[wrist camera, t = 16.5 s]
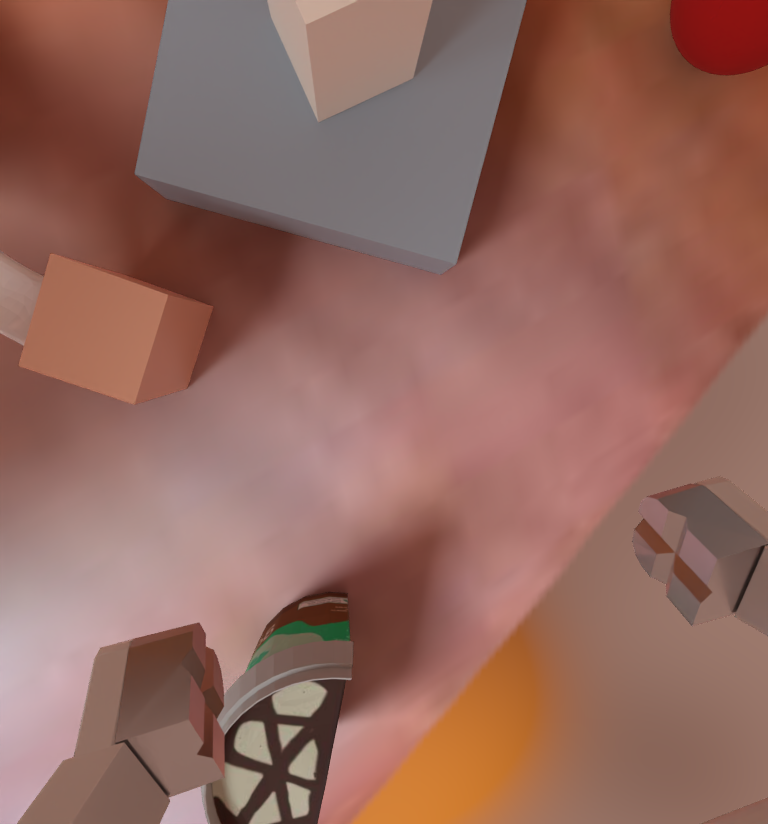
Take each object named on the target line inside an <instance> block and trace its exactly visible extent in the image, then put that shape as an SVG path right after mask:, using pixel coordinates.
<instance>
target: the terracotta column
mask: <svg viewBox="0 0 768 824" xmlns="http://www.w3.org/2000/svg"><path fill="white" fill-rule="evenodd" d="M213 307H214V306H211V305H208V304H205V303H203V302H200V301H197V300H194V299H191V298H189V297H186V296H183V295H180V294H177V293H175V292H172V291H169V290H166V289H164V288H161V287H158V286H155V285H152V284H150V283H147V282H144V281H141V280H138V279H136V278H133V277H130V276H127V275H124V274H121V273H117V272H114V271H110V270H107V269H104V268H100V267H97V266H94V265H90V264H87V263H83V262H80V261H77V260H73V259H70V258H66V257H63V256H60V255H56V254H53V253H50V256H49V260H48V263H47V267H46V270H45V274H44V277H43V281H42V284H41V288H40V291H39V295H38V298H37V302H36V305H35V309H34V312H33V316H32V319H31V323H30V326H29V330H28V333H27V337H26V340H25V344H24V347H23V351H22V354H21V358H20V361H19V365H18V366H19V367H22V368H25V369H28V370H31V371H34V372H37V373H40V374H43V375H47V376H50V377H53V378H56V379H59V380H62V381H65V382H68V383H71V384H74V385H77V386H80V387H83V388H86V389H89V390H92V391H95V392H98V393H101V394H104V395H107V396H110V397H113V398H116V399H119V400H122V401H125V402H128V403H131V404H134V405H135V404H138V403H141V402H145V401H148V400H151V399H154V398H158V397H161V396H164V395H168V394H171V393H174V392H177V391H181V390H184V389H187V388H188V385H189V382H190V379H191V376H192V372H193V369H194V366H195V363H196V360H197V357H198V354H199V351H200V347H201V344H202V341H203V338H204V335H205V332H206V329H207V326H208V323H209V319H210V316H211V313H212V310H213Z"/></svg>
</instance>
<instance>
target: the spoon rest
mask: <svg viewBox="0 0 768 824" xmlns="http://www.w3.org/2000/svg"><path fill="white" fill-rule="evenodd" d="M43 277H44V276H43V275H41V274H38V273H36V272H34V271H32V270H30V269H29V268H27V267H25V266H24V265H22V264H20V263H19V262H17V261H15V260H14V259H12V258H11V257H9V256H8V255H6V254H5V253H3V252H2V251H0V333H1V334H3V335H4V336H6V337H8V338H10V339H12V340H14V341H16V342H17V343H19V344H21V345H23V346H24V344H25V340H26V337H27V333H28V330H29V326H30V323H31V319H32V316H33V312H34V309H35V305H36V302H37V298H38V295H39V291H40V288H41V284H42V281H43Z"/></svg>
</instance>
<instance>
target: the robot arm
mask: <svg viewBox="0 0 768 824" xmlns="http://www.w3.org/2000/svg"><path fill="white" fill-rule="evenodd" d="M639 513H640V515H641V516H642V517H643V520H642V521H641V522H640V523H639V524H638V526H637V527H636V528H635V529H634V534H633V540H632V542H633V546H634V550H635V555H636V557H637V559H638V560H639V562H640V564H641V566H642V567H643V568H644V570H645V571H646V572H647V573H648V575H649V576H650V577H652V578H654V579H656V580H658V581H660V582H662V583H664V584H666V594H667V597H668V598H669V600H670V601H671V602H672V603H673V604H674V606H675V607H676V608H677V609H678V610H679V611H680V613H681V614H682V615H683V616H684V617H685V619H686V620H687V621H688V622H689V623H690V624H691V626H695V625H699V624H702V623H706V622H709V621H713V620H716V619H720V618H723V617H726V616H730V615H733V614H735V616H734V617H736V618H737V619H739V620H741V621H743V622H744V623H746V624H748V625H749V626H751V627H753V628H755V629H756V630H758V631H760V632H762V633H763V634H765V635H767V636H768V511H767V510H765V509H764V508H763V507H761V506H760V505H759V504H758V503H757V502H756V501H754V500H753V499H752V498H751V497H749V496H748V495H747V494H746V493H744V492H743V491H742V490H741V489H740V488H738V487H737V486H736V485H735V484H733V483H732V482H731V481H729V480H728V479H726V478H723V477H720V476H719V477H715V478H711V479H707V480H704V481H701V482H697V483H694V484H688V485H684V486H681V487H677V488H674V489H670V490H667V491H664V492H660V493H657V494H654V495H650V496H647V497H645V498H644V499H643V500H642V501H641V503H640V507H639ZM223 708H224V687H223V680H222V673H221V668H220V665H219V662H218V658H217V656H216V654H215V652H214V650H213V649H210V648H208V647H206V634H205V632H204V630H203V628H202V626H201V625H200V623H195V624H191V625H187V626H183V627H179V628H175V629H171V630H167V631H163V632H159V633H155V634H151V635H147V636H143V637H139V638H135V639H131V640H128V641H124V642H120V643H117V644H113V645H109V646H105V647H102V648H100V650H99V652H98V653H97V655H96V657H95V659H94V663H93V667H92V672H91V677H90V682H89V686H88V691H87V696H86V701H85V705H84V710H83V715H82V720H81V724H80V729H79V734H78V739H77V743H76V748H75V753H74V757H72V758H69V759H66V760H63V761H62V763H61V764H60V765H59V767H58V768H57V770H56V771H55V772H54V774H53V775H52V776H51V778H50V779H49V780H48V782H47V783H46V785H45V786H44V787H43V789H42V790H41V791H40V793H39V794H38V795H37V797H36V798H35V800H34V801H33V802H32V804H31V805H30V806H29V808H28V809H27V810H26V812H25V813H24V815H23V816H22V817H21V819H20V820H19V821H18V823H17V824H160V821H161V819H162V817H163V815H164V813H165V811H166V809H167V807H168V805H169V802H170V799H169V797H172V796H174V795H177V794H180V793H183V792H186V791H189V790H191V789H194V788H197V787H200V786H203V785H205V784H208V783H211V782H214V781H217V780H220V779H222V778H225V754H224V732H223V730H222V729H221V727H220V725H219V723H218V721H217V718H218V716H219V714H220V713H221V711H222V709H223ZM700 824H768V797H767V798H765V799H762V800H760V801H757V802H754V803H752V804H750V805H747V806H744V807H742V808H739V809H736V810H734V811H731V812H729V813H726V814H724V815H721V816H718V817H716V818H713V819H711V820H708V821H706V822H703V823H700Z"/></svg>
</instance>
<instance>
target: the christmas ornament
mask: <svg viewBox="0 0 768 824" xmlns="http://www.w3.org/2000/svg"><path fill="white" fill-rule="evenodd" d="M670 25H671V31H672V36H673V39H674V42H675V44H676V46H677V48H678V50H679V52H680V53H681V54H682V56H683V57H684V58H685V59H686V60H687V61H688V62H689V63H690V64H692V65H693V66H694V67H696V68H698V69H700V70H702V71H705V72H708V73H710V74H717V75H736V74H742V73H746V72H750V71H753V70H756V69H758V68H761V67H763V66H765V65H768V0H672V1H671V9H670Z"/></svg>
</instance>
